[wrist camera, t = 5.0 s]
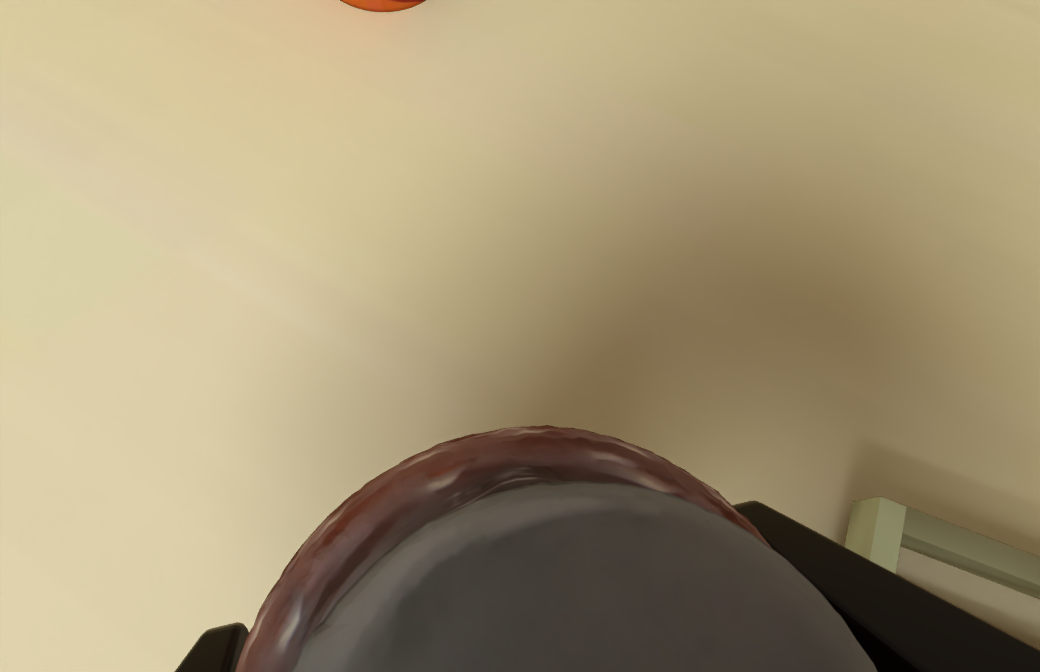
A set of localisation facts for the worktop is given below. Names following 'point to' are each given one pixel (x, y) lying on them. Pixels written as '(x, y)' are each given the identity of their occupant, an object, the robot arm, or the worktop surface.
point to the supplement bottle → (543, 572)
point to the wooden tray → (936, 544)
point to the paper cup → (383, 4)
